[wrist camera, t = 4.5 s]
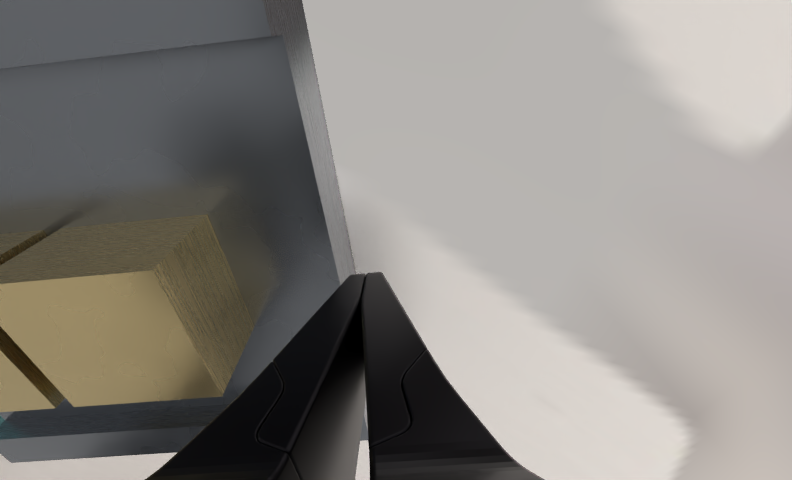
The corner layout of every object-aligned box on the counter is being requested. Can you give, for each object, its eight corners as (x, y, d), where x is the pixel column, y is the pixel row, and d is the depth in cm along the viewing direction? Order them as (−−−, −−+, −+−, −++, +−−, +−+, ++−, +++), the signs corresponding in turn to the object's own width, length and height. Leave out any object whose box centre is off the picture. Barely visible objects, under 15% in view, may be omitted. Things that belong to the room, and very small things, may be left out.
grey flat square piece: (374, 366, 16) (369, 439, 13) (76, 388, 17) (11, 462, 14) (294, -40, 9) (245, -71, 6) (-236, 29, 9) (-510, 32, 6)
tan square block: (254, 326, 11) (221, 396, 9) (133, 335, 12) (73, 407, 9) (207, 214, 9) (152, 270, 7) (61, 228, 10) (-35, 287, 7)
